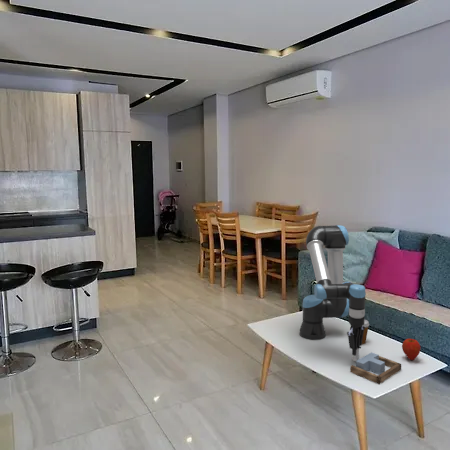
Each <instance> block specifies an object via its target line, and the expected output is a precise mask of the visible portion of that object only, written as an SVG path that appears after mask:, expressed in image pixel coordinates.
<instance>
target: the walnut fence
mask: <svg viewBox="0 0 450 450" xmlns="http://www.w3.org/2000/svg"><path fill="white" fill-rule="evenodd" d="M379 360H380V361H383V362H385V367H389V368H388V369H387V370H385V372H383V373H382V374H376V373H374V372H373V373H372V372H371V371H366V370H363V369H361V368H358V367H356V365H353V364H351V365H350V373H352V374H354V375H357V376H358V377H362V378H364V379H366V380H369V381H371V382H374V383H375V384H378V385H381V384H383V383H384V382H385V381H387V380H388V379H390V378H391V377H392V376H394V375H396V374H397V373H398V372H400V371H401V370H402V363H401V362H400V363H399V362H397V361H394V360H392V359H390V358H389V359H388V358H387V357H383V356H381V355H379Z"/></svg>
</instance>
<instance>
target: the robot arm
mask: <svg viewBox="0 0 450 450" xmlns="http://www.w3.org/2000/svg"><path fill="white" fill-rule="evenodd" d="M349 241H350V237H349V233H348V230H347V228H346V227H345V226H344V225H337V224H336V225H317V226H315V227H313V228H312V229H310V231H309V232H308V233H307V235H306V239H305V245H306V249H307V250H308V251H309V255H310V256H309V257H310V260H311V263H312V267H313V271H314V276H315V281H316V284H315V285H314V286H313V293H314V294H310V295H309V294H308V295H306V296H305V297H304V298H303V300H302V304H301V305H302V306H301V307H302V323H301V325H300V328H299V335H300V337H302V338H304V339H307V340H315V341H317V340H322V339H325V337H326V336H327V335H326V333H327V332H326V330H325V326H324V323H323V320H324V319H326V318H327V319H329V318H338V319H340V318H346V317H347V316H348V323H349V325H350V327H349V329H350V330H349V331H347V332H346V334H347V338H348V344H349V345H348V346H349V349H351V353H352V354H351V358H352V359H351V361H354V362H356V361H357V360H359V359H360V358H359V357H360V356H359V353H360V349H362V345H363V344H362V340H363V334H364V330H365V327H364V326H362V325H364V320H366V319H365V315H366V310H365V309H366V295H367V294H366V287H365V285H362V284H354V283H353V282H351V281H344V256H343V254H344V253H343V252H344V251H345V250H346V246H348V245H349ZM324 249H325V250H326V251H327V260H326V256H325V253H324V252H325V251H324Z"/></svg>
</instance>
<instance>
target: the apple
mask: <svg viewBox="0 0 450 450" xmlns="http://www.w3.org/2000/svg"><path fill="white" fill-rule="evenodd" d="M401 348H402V351H403V353H404V355H405V356H406V357H407V359H408V360H410V361H414V360H415V359H416V358H417V357H418V356H419V354H420V353H421V348H422V347H421V345H420V343H419V342H418V340H416V339H413V338H406V339H405V340H403V341H402V344H401Z"/></svg>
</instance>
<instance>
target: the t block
mask: <svg viewBox="0 0 450 450" xmlns="http://www.w3.org/2000/svg"><path fill="white" fill-rule="evenodd" d="M379 356H380V355H379V354H377V353H375V352H372V351H371V352H369V353H368V354H366V355H364V356H362V357H360V358H359V360H357V361H355V366H356V367H358V368H361V369H363V370H366V371H368V372H371V373H372V372H373V374H376V375H380V374H382V373H383V372H385V371H386V370H385V369H386V365H385V362H383V361H380V360H379Z"/></svg>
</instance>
